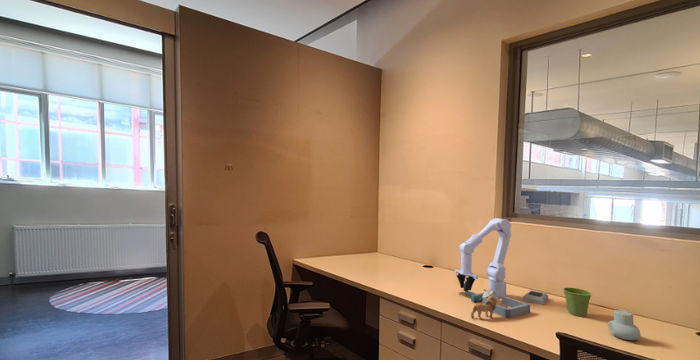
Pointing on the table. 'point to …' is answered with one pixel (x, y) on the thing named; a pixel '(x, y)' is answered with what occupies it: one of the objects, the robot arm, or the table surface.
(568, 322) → the table surface
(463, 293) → the rail
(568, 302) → the plant pot
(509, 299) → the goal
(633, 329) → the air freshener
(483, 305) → the lion figurine
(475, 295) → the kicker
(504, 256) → the robot arm
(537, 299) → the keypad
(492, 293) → the grey rock
